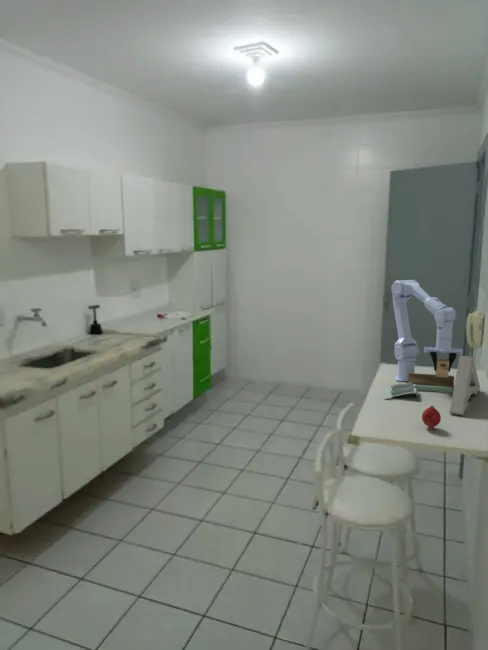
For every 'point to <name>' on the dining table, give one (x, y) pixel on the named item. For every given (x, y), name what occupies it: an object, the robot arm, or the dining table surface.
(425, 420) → the onion
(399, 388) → the metal bracket
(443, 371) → the cabinet block
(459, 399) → the white letter a
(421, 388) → the cleat ledge
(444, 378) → the wall board
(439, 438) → the dining table surface
